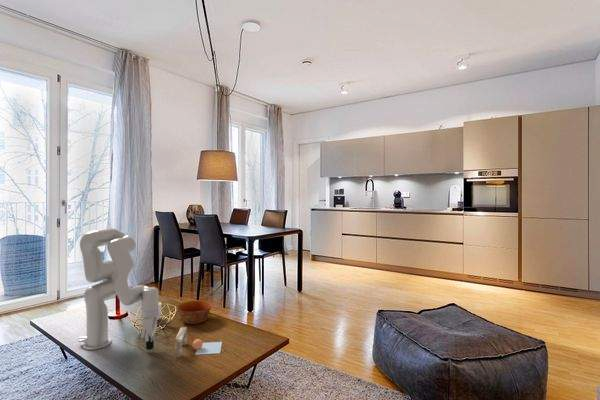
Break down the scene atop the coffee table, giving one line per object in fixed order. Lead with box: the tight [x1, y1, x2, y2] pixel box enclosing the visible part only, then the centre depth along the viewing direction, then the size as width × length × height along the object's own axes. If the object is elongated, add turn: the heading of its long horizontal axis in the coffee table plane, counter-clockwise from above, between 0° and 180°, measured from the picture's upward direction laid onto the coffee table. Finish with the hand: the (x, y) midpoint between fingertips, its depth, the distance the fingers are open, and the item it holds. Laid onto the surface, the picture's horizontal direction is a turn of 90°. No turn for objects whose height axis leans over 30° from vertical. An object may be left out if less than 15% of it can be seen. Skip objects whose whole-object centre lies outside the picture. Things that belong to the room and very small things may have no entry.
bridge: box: [174, 326, 188, 358], centre depth 166 cm, size 3×14×9 cm, turn 9°
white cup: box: [157, 301, 162, 319], centre depth 203 cm, size 8×8×10 cm
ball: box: [192, 338, 204, 351], centre depth 167 cm, size 5×5×5 cm
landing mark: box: [194, 341, 223, 356], centre depth 169 cm, size 12×12×1 cm
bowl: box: [176, 300, 213, 325], centre depth 202 cm, size 21×21×10 cm
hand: (149, 348), depth 164 cm, fingers closed
